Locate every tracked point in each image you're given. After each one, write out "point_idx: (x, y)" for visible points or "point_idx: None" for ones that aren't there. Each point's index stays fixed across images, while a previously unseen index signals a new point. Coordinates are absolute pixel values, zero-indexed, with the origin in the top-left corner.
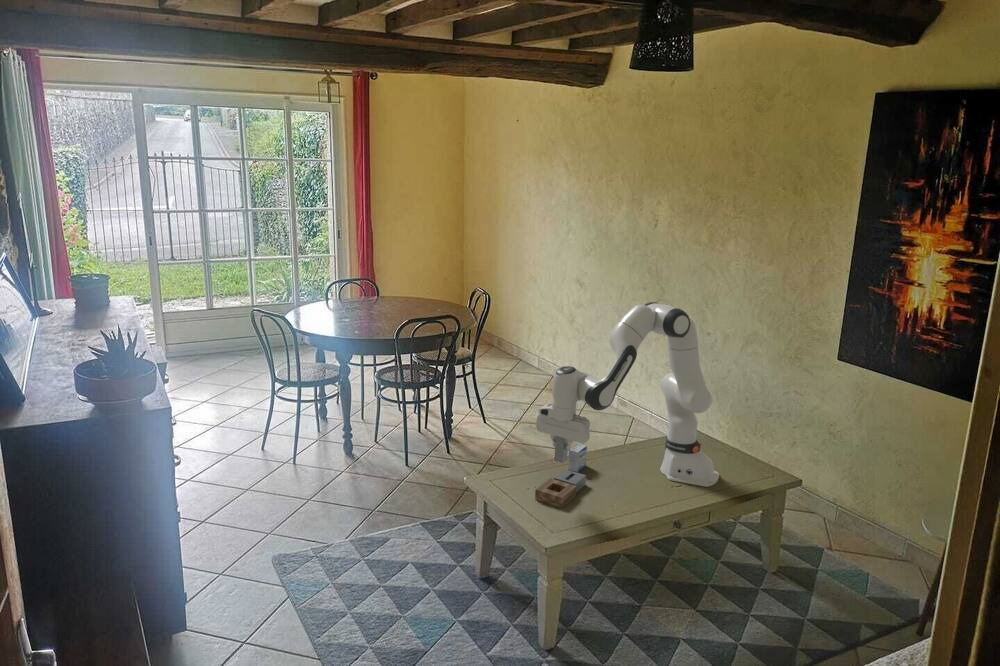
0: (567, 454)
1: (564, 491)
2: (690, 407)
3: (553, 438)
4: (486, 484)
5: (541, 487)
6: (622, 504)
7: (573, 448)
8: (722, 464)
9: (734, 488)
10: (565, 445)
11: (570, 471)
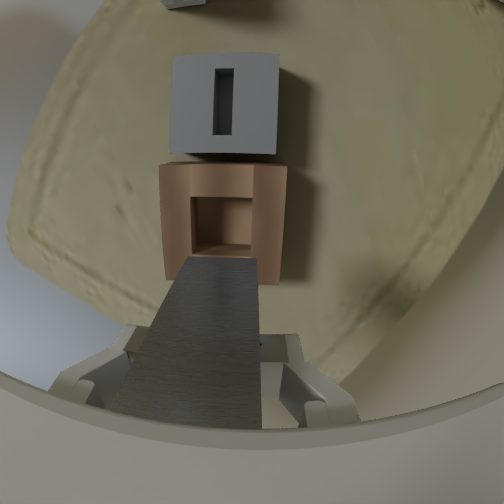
0: (257, 276)
1: (265, 237)
2: None
3: (105, 400)
4: (38, 257)
5: (174, 256)
6: (431, 147)
7: None
8: None
9: None
10: (261, 396)
11: (202, 59)
